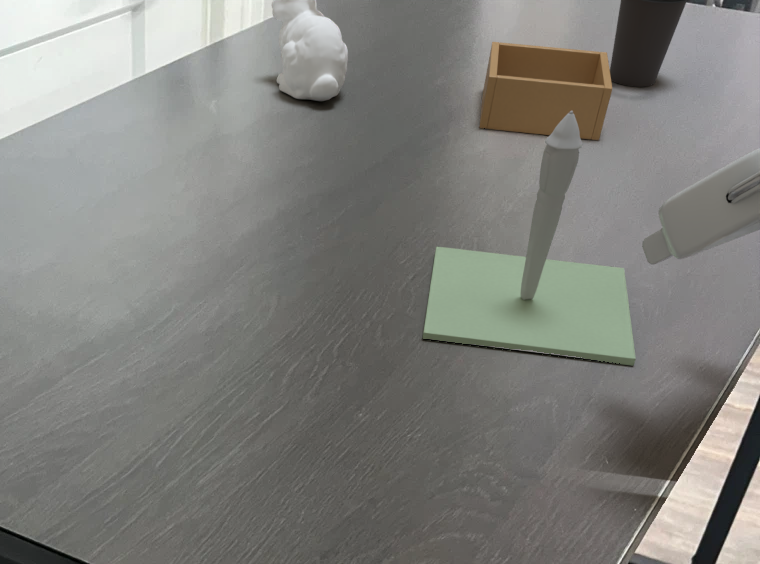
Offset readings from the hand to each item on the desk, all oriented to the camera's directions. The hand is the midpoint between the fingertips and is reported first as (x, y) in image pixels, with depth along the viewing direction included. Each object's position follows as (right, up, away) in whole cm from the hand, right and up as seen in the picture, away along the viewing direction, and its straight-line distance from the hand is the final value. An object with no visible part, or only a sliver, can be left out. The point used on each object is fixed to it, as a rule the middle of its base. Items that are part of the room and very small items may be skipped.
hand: (694, 235), depth 76 cm
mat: (-8, 0, +14) cm, 16 cm away
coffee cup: (+16, +43, +55) cm, 72 cm away
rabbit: (-23, +38, +49) cm, 66 cm away
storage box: (+3, +33, +45) cm, 57 cm away
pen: (-8, +1, +13) cm, 16 cm away
